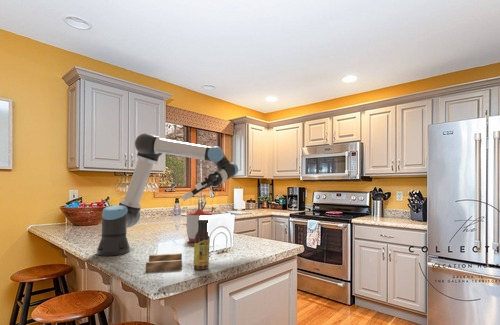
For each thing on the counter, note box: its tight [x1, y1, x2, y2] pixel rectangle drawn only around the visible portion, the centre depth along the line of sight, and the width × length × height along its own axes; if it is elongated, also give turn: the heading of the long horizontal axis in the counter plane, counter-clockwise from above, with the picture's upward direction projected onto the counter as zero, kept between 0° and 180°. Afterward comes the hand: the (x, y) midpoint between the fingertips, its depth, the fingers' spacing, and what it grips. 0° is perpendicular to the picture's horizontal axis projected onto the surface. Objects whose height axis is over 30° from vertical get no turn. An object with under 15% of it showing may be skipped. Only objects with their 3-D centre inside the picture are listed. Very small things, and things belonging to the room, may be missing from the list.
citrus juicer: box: [186, 208, 213, 243], centre depth 176 cm, size 16×17×20 cm
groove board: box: [145, 252, 183, 273], centre depth 122 cm, size 14×13×3 cm
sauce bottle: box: [193, 220, 210, 271], centre depth 119 cm, size 6×6×20 cm
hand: (189, 193), depth 139 cm, fingers open, 13 cm apart
